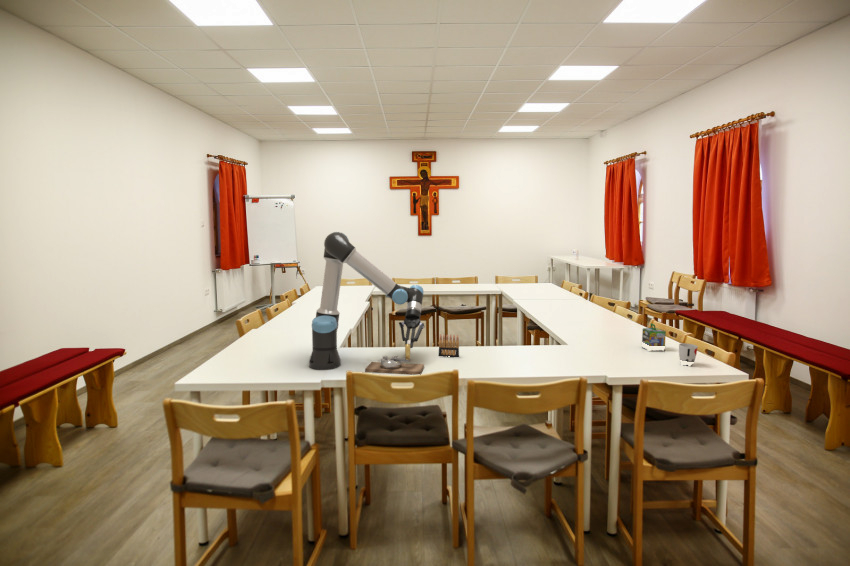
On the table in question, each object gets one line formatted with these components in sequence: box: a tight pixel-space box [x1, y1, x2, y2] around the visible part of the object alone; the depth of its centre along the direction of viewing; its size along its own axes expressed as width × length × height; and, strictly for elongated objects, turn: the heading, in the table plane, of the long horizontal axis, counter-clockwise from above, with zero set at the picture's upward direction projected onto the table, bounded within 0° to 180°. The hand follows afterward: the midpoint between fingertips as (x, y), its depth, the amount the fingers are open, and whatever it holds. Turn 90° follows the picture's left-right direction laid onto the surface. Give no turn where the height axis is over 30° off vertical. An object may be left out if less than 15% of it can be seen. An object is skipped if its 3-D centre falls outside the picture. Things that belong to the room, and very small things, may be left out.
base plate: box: [364, 361, 425, 375], centre depth 225 cm, size 26×12×2 cm, turn 82°
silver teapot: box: [379, 343, 411, 369], centre depth 224 cm, size 14×10×11 cm
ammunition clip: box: [437, 333, 460, 358], centre depth 248 cm, size 11×2×12 cm, turn 82°
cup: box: [678, 342, 698, 363], centre depth 237 cm, size 8×8×10 cm
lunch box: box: [641, 322, 667, 347], centre depth 266 cm, size 9×9×15 cm
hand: (407, 353), depth 227 cm, fingers closed
